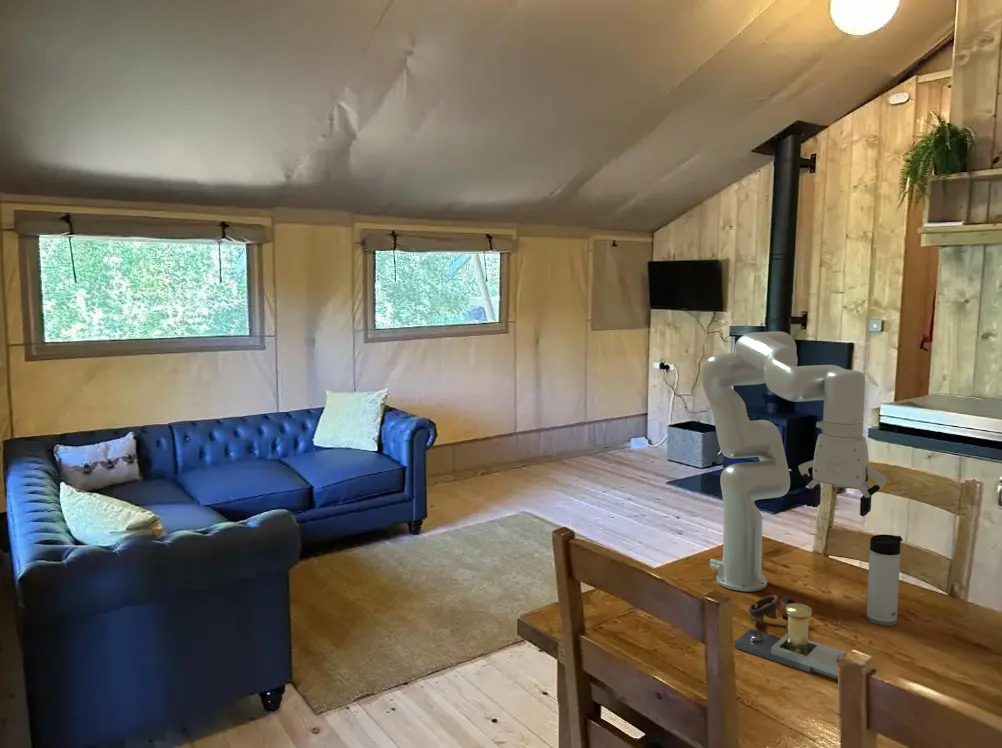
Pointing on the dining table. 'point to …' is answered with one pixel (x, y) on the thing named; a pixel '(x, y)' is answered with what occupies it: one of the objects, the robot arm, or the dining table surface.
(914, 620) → the dining table surface
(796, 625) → the pin
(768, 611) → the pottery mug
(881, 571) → the travel mug
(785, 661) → the grey plate with socket
